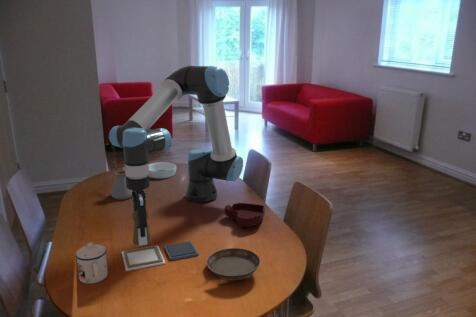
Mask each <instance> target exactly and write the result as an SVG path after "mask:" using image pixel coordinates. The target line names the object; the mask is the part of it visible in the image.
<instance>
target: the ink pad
mask: <svg viewBox="0 0 476 317" xmlns="http://www.w3.org/2000/svg"><path fill="white" fill-rule="evenodd" d="M164 249H165V253H166V254H167V256H168V258H169V261H176V260H181V259H186V258H187V259H188V258H192V257H198V256H199V252H198V250H197V248H196V247H195V245H194V243H193V242H192V241H191V240H189V241H184V242H177V243H172V244H166V245H165V244H164Z"/></svg>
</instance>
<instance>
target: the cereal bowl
mask: <svg viewBox="0 0 476 317" xmlns="http://www.w3.org/2000/svg"><path fill="white" fill-rule="evenodd" d="M176 173H177V165H176V164H174V163H172V162H165V161H164V162H163V161H162V162H161V161H160V162H154V163H152V162H151V163H149V174H148V176H149V178H152V179H156V180H157V179H159V180H160V179H161V180H163V179H168V178H172V177H174V175H175V174H176Z"/></svg>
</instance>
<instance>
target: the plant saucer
mask: <svg viewBox="0 0 476 317" xmlns="http://www.w3.org/2000/svg"><path fill="white" fill-rule="evenodd" d="M260 265H261V258H260V256H259V255H258V254H257V253H256V252H254V251H251V250H250V249H245V248H240V247H239V248H238V247H234V248H233V247H231V248H224V249H220V250H217V251H215V252H213V253H211V254H210V255H209V256H208V257H207V259H206V266H207V268H208V269H209V270H210V272H212V274H214V275H215V276H217V277H218V278H220V279H223V280H228V281H229V280H231V281H234V280H235V281H236V280H237V281H238V280H244V279H245V278H248V277H250V276H252V275H253V274H254V273H255V272H256V271H257V270H258V268H259V267H260Z"/></svg>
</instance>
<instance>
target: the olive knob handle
mask: <svg viewBox="0 0 476 317" xmlns="http://www.w3.org/2000/svg"><path fill="white" fill-rule="evenodd" d="M131 217H132V218H131V219H132V221H134V222H133V233H132V234H133V236H132V243H133V244H134V245H136V246H139V240H138V228H137V229H136V227H137V226H138V218H137V210H136V211H134V210H133V212H132V216H131ZM146 218H147V219H148V218H149V213H148V211H147V210H146ZM146 231H147V244H149V243H151V242H152V239H151V238H152V237H151V234H150V229H149V224H148V223H147V228H146Z"/></svg>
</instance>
